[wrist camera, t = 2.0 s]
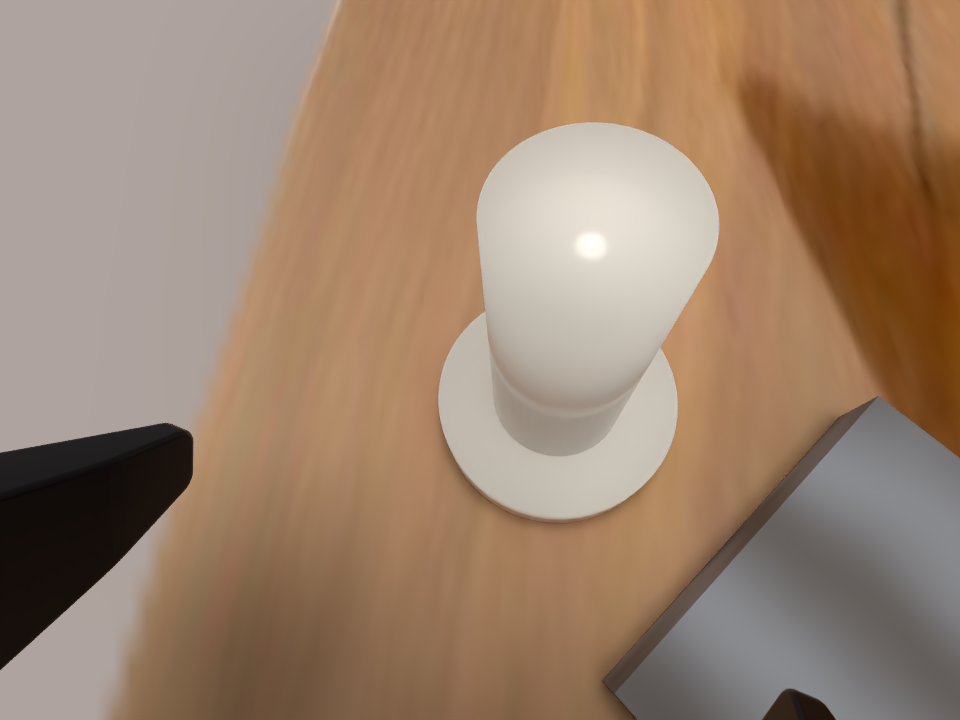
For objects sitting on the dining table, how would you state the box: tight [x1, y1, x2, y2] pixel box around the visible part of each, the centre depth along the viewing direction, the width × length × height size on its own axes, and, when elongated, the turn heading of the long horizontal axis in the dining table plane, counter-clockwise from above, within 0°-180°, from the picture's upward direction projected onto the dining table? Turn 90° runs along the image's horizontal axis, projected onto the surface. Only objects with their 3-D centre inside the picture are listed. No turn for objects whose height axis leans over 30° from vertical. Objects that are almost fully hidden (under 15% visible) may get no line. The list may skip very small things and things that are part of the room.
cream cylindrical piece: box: [438, 123, 719, 523], centre depth 17 cm, size 8×8×12 cm
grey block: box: [603, 396, 960, 720], centre depth 17 cm, size 13×13×2 cm
